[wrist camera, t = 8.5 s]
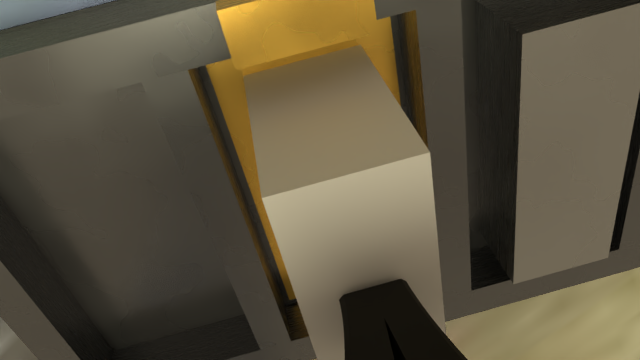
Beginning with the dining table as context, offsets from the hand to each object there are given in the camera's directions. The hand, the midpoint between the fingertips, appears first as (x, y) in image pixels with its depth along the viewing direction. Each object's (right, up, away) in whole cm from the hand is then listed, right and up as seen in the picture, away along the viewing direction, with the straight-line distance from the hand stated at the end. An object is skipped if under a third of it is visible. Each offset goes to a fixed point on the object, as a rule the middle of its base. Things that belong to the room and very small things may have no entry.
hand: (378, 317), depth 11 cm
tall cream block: (-1, +3, +4) cm, 5 cm away
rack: (-1, +3, +5) cm, 6 cm away
